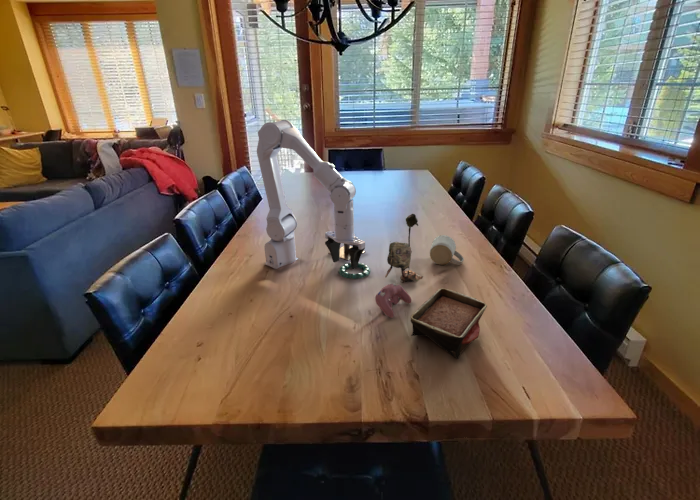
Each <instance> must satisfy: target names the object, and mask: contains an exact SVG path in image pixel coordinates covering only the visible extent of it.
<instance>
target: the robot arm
mask: <svg viewBox="0 0 700 500" xmlns="http://www.w3.org/2000/svg"><path fill="white" fill-rule="evenodd" d="M257 136H258V141H257V147H256V155H257V161H258V165H259V168H260V174H261V178H262V181H263V187H264V190H265V196H266V199H267V204H268V208H269V211H268V213H267V216H266V228H265V230H266V234H267V236H268V237H269V238H270V240H268V241H267V242H265V244H264V256H265V262H264V265H266V266H268V267H270V268H272V269H274V270H277V269H279V268H282V267H284V266H286V265H290V264H293V263H295V262H297V260H300V258H298V257H297V252H296V250H297V249H296V239H295V230H296V229H297V228H298V221H297V218H296V216H295V215H294V213H293V209H292V208H290V206H288V204H287V199H286V194H285V189H284V185H283V179H282V175H281V170H280V165H279V162H278V154H279V153H280V151H281V150H282V149H288V150H292V151H293V152H295V153H296V154H297V155H298V156H299V157H300V158H301V160H303V161H304V162H305V163H306V164H307V165H308V166H309V167H310V168H311V169H312V170H313V177H314V178H315V179H316V180H317V181H318V182H319V183H320V185H322V187H323V188H324V189H325V190H326V191H327V192H328V193H329V198H330V200H331V202H332V203H333V218H334V219H333V221H334V224H333V225H334V231H331V230H328V231H326V232H324V239H326V241H324V245H325V246H326V247H327V249H328V252H330V253H331V254H330V257H331V259H332V262H333V263H337V262H339V261H340V259H341V258H340V248H341V244H343V245H344V244H348V245H350V247H352V248H349V249H348V252H349V255H350V260H349V261H350V263H351V268H350V269H351V270H355V269H357V267H358V263H360V259H361V256H362V255H363V254H362V252H363V251H365V249H366V241H364V240H362V239H360V238H359V237H357V236H356V234H355V218H354V217H355V216H354V215H355V214H354V213H355V209H354V208H355V207H354V199H353V198H354V197H355V196H356V194H357V191H356V187H355V185H354V183H353V182H352V181H350V180H349V179H347V178H346V177H343V176H342V175H341V174H340V173H339V171H337V170H336V169H335V168H336V165H334V164H333V163H331V162H329V161H323V160H322V159H321V158H320V156H318V154H317V153H316V152H315V151H314V149H313V148H312V147H311V145H310V144H309V143H308V142H307V141H306V140H305V139H304V137H303V136H302V134H301V133H300V131H299V129H298V128H297V127H296V126H294V125H293V123H292V122H291V121H290V120H287V119H281V120H278V121H268V122H265V123H264V124H262V125H261V127H260V128H259V130H258V131H257Z"/></svg>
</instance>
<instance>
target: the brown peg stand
mask: <svg viewBox="0 0 700 500" xmlns="http://www.w3.org/2000/svg"><path fill="white" fill-rule="evenodd" d="M352 247H353V246H351V245H348V244H344V243H343V246H340V258H339V259H342V260H345V261H351V260H350V255H349V252H348V249H349V248H352ZM365 253H366V250H364V251H363V252H362V254H361V255H363V254H365ZM328 255H331V253H330V251H328Z"/></svg>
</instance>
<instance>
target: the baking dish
mask: <svg viewBox="0 0 700 500" xmlns="http://www.w3.org/2000/svg"><path fill="white" fill-rule="evenodd" d="M487 308H488V304H487V303H485V302H484V301H482V300H480V299H477V298H475V297H472V296H469V295H467V294H465V293H462V292H458V291H455V290H452V289H449V288H444V287H440V288H439V289H436V291H435V292H434V293H433V294H432V295H431V296H430V297H429V298H428V299H427V300H426V301H424V303H423V304H422V305H421V306H419V307H418V308H417V309H416V310H415V311H414V312H413V313H412V314H411V315H410V323H411V324H412V334H411V335H410V337H411V336H413V337H415V336H416V337H418V336H419V337H420V336H421V337H427V338H428V339H430V340H431V341H432V342H434V344H436V345H437V346H439V347H440V348H442V349H443V351H445V352H447V353H448V354H450V355H451V356H453V358H455V359H457V360H459V359H460V356H461V355H462V353H463V351H464V350H466V348H467V347H468V346H469V345H470V344H471V343H472V342H474V341H475V340H477V339H478V338H479V335H480V331H481V328H480V326H481V325H480V320H481V318H482V316H483V315H484V312H485V311H486V309H487Z"/></svg>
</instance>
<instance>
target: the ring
mask: <svg viewBox="0 0 700 500" xmlns="http://www.w3.org/2000/svg"><path fill="white" fill-rule="evenodd" d="M357 268H358V269H361V270H362V272H358V273H350V272H347V271H346V270H348V269H351V262H347V263H345V264H342V265H341V266H340V267H339V269H338V270H337V273H338V274H339V276H340V277H343V278H345V279H350V280H357V279H363V278H366V277H368V276H369V275H370V273H371V268H370V267H369V266H368V265H367V264H364V263H363V262H359V263H358V267H357ZM357 268H356V269H357Z"/></svg>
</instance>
